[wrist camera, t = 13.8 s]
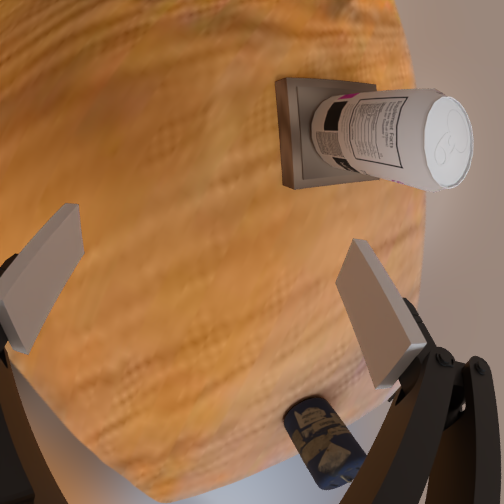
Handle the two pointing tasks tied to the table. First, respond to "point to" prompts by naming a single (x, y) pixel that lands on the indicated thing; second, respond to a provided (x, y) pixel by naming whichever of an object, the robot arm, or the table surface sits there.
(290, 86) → the stand
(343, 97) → the supplement can
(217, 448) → the table surface
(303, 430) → the canister
